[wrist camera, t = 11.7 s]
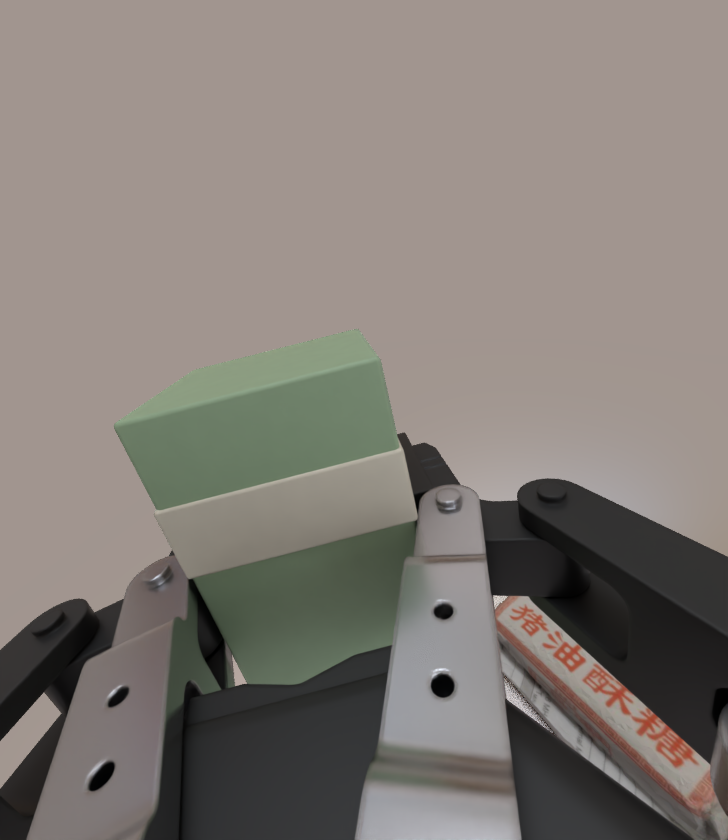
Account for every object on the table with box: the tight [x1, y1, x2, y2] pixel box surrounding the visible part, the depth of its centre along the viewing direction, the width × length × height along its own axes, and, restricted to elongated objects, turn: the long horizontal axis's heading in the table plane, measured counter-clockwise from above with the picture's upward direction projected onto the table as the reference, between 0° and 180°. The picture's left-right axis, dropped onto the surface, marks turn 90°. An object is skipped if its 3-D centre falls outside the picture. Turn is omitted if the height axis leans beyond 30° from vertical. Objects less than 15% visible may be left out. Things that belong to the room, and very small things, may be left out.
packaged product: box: [495, 596, 728, 840], centre depth 28 cm, size 18×5×10 cm
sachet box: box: [114, 329, 418, 685], centre depth 10 cm, size 5×4×11 cm
